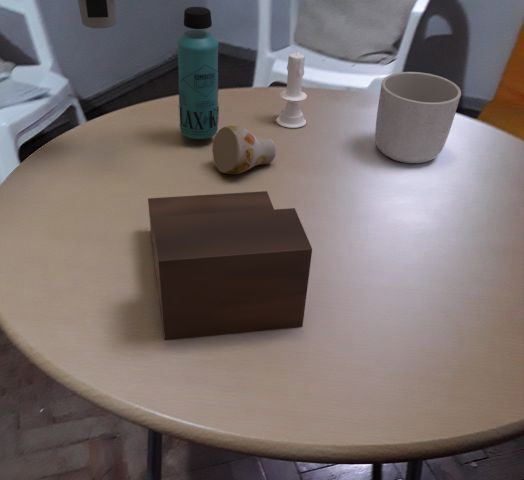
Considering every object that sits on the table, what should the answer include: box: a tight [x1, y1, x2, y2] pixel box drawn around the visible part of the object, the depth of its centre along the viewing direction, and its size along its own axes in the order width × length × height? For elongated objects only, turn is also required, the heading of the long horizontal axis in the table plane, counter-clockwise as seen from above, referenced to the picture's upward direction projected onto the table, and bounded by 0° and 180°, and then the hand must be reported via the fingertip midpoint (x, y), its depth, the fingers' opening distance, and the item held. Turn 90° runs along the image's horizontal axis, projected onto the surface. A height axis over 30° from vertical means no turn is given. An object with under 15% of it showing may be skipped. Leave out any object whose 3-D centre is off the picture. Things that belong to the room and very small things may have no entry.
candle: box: [275, 50, 308, 129], centre depth 108 cm, size 5×5×12 cm
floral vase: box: [211, 125, 277, 175], centre depth 97 cm, size 8×10×10 cm
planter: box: [374, 71, 462, 164], centre depth 102 cm, size 12×12×11 cm
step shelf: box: [147, 190, 313, 341], centre depth 76 cm, size 22×16×11 cm
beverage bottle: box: [176, 6, 220, 140], centre depth 98 cm, size 6×7×20 cm
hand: (97, 9), depth 87 cm, fingers closed on cup, 5 cm apart
